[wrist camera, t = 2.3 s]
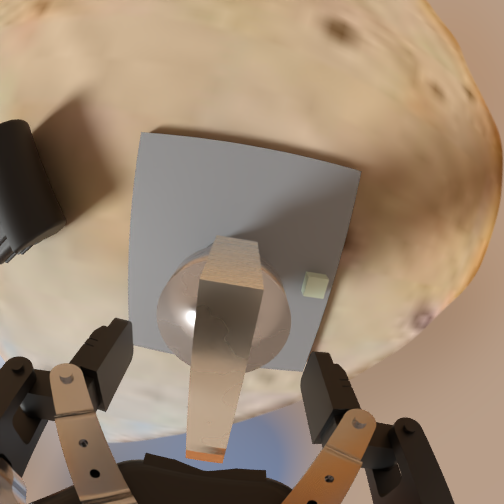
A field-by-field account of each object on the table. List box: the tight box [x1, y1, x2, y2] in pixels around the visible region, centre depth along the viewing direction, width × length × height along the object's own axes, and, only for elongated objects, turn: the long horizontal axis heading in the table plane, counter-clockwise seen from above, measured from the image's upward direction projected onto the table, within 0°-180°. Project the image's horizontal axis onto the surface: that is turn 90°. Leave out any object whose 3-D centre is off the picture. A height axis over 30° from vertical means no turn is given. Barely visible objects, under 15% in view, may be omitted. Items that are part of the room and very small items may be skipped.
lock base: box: [128, 132, 361, 372], centre depth 19 cm, size 18×16×6 cm
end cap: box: [0, 119, 66, 264], centre depth 16 cm, size 10×7×7 cm
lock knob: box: [156, 235, 291, 463], centre depth 13 cm, size 10×7×7 cm
